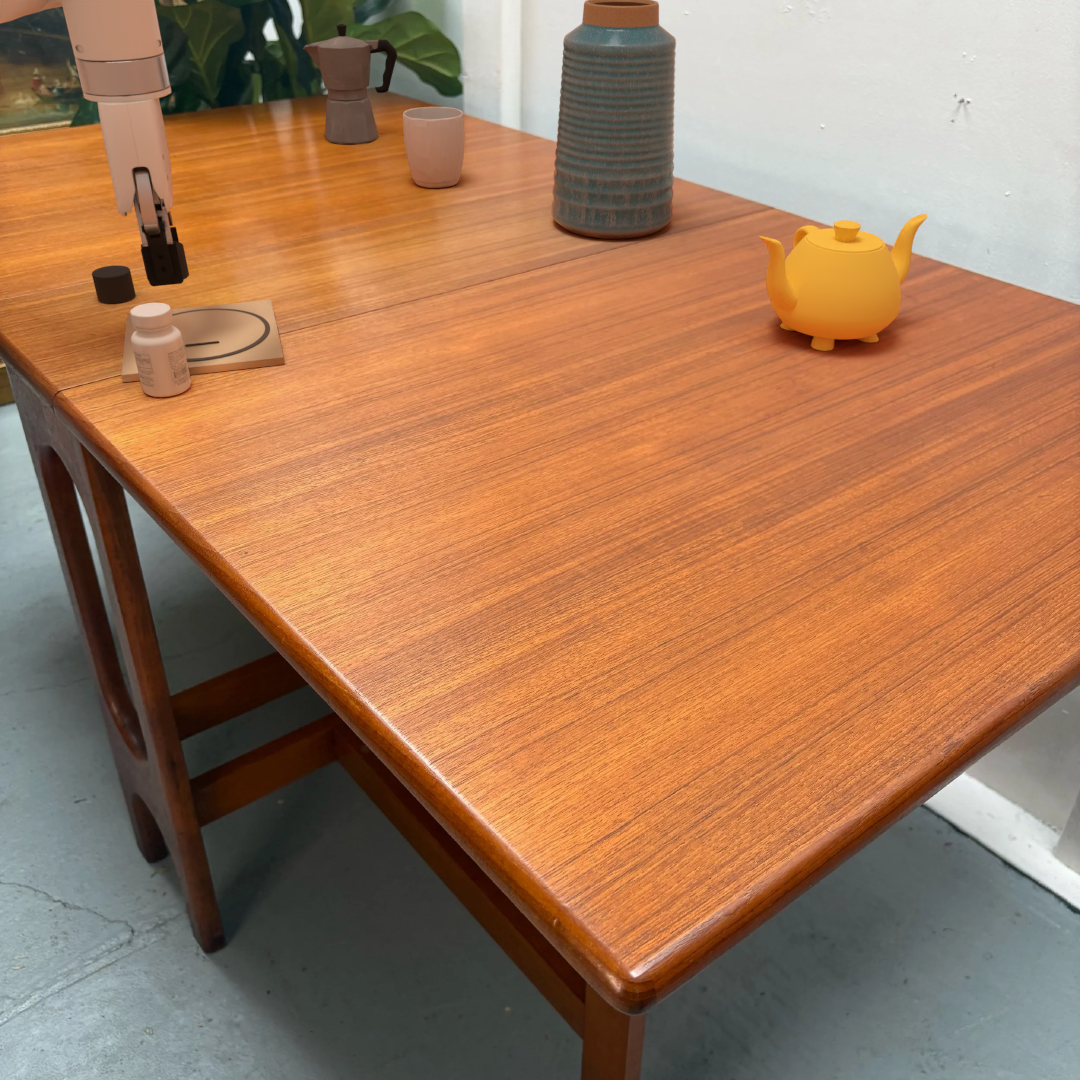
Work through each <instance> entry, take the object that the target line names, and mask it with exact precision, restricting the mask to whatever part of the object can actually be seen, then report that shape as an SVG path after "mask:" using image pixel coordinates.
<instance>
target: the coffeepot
mask: <svg viewBox="0 0 1080 1080" xmlns="http://www.w3.org/2000/svg"><path fill="white" fill-rule="evenodd" d="M336 30H337V34H338V36H335V37H332V38H329V39H325V40H321V41H316V42H312V43H309V44H305V45H304V46H303V51H306V52H307V53H308V55H309V56H310V57H311V59H312V60H313V62H314V64H315V65H316V67H317V68H318V69H319V71H320V74H321V78H322V82H323V86H324V88H326V89H327V99H326V104H325V105H326V107H325V126H324V128H325V129H324V138H325V140H326V141H327V142H329V143H332V144H336V145H361V144H362V145H363V144H368V143H371V142H375V141H376V140H377V139H378V138H379V132H378V129H377V128H378V127H377V124H376V119H375V115H374V112H373V107H372V103H371V100H370V98H369V97H368V89H367V88H368V87H370V81H371V79H370V77H371V59H372V54H378V53H383V52H385V53H386V58H385V63H384V71H383V73H382V85H380V86H375V87H374V88H375V91H376V93H377V94H384V93H388V91H389V89H390V85H391V83H392V78H393V73H394V70H395V66H396V61H397V58H398V52H397V49H396V48H395V46H394V45H393V44H392V43H391V42H390V41H389V40H388V39H368V40H362V39H360V38H359V39H358V38H355V37H351V36H347V24H343V23H339V24H337V25H336Z"/></svg>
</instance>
